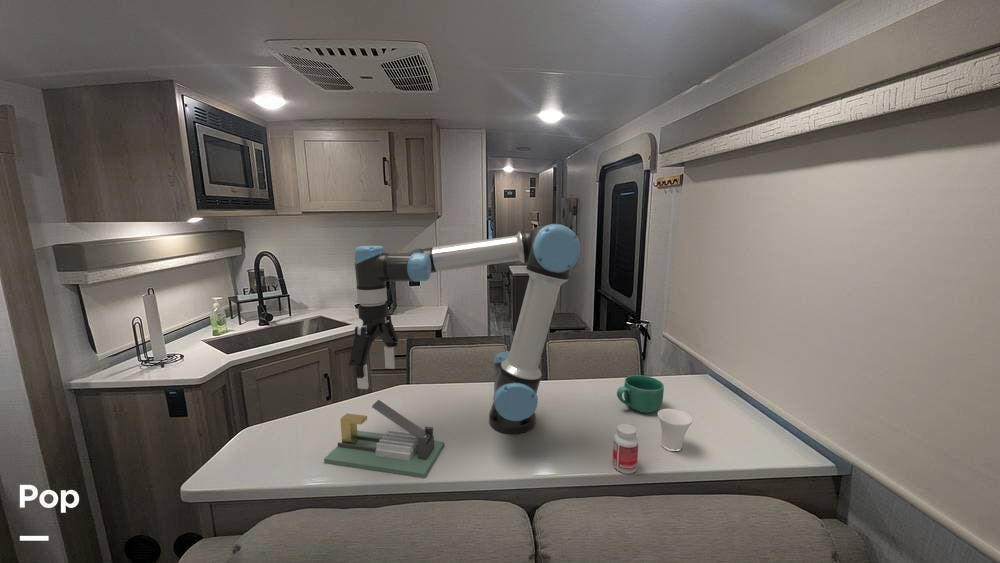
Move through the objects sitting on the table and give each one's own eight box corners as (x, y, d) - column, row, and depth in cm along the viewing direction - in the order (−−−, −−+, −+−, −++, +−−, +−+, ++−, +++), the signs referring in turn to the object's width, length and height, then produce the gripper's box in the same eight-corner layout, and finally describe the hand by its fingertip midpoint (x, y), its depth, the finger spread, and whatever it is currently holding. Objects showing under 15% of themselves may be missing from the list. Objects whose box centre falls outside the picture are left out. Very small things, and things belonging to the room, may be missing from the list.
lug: (368, 440, 106) (367, 415, 105) (362, 446, 103) (361, 421, 102) (348, 438, 108) (346, 413, 106) (342, 444, 105) (340, 418, 103)
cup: (647, 442, 108) (650, 411, 106) (671, 435, 111) (673, 405, 110) (672, 460, 100) (675, 426, 98) (696, 452, 103) (699, 419, 102)
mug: (647, 397, 135) (649, 373, 134) (670, 414, 123) (672, 388, 122) (606, 402, 132) (607, 377, 131) (625, 420, 120) (627, 393, 118)
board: (444, 445, 106) (443, 422, 105) (424, 478, 93) (424, 451, 92) (354, 433, 112) (353, 411, 111) (324, 462, 99) (322, 437, 98)
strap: (429, 438, 102) (432, 433, 102) (424, 445, 99) (427, 440, 98) (377, 403, 104) (379, 398, 103) (370, 408, 101) (373, 403, 100)
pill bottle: (641, 469, 96) (644, 430, 95) (626, 478, 93) (629, 438, 91) (622, 456, 101) (624, 419, 100) (607, 464, 98) (609, 426, 96)
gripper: (384, 293, 112) (388, 360, 115) (329, 313, 88) (336, 396, 91) (407, 294, 110) (410, 362, 113) (357, 315, 86) (363, 399, 89)
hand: (377, 377), depth 102 cm, fingers open, 13 cm apart
